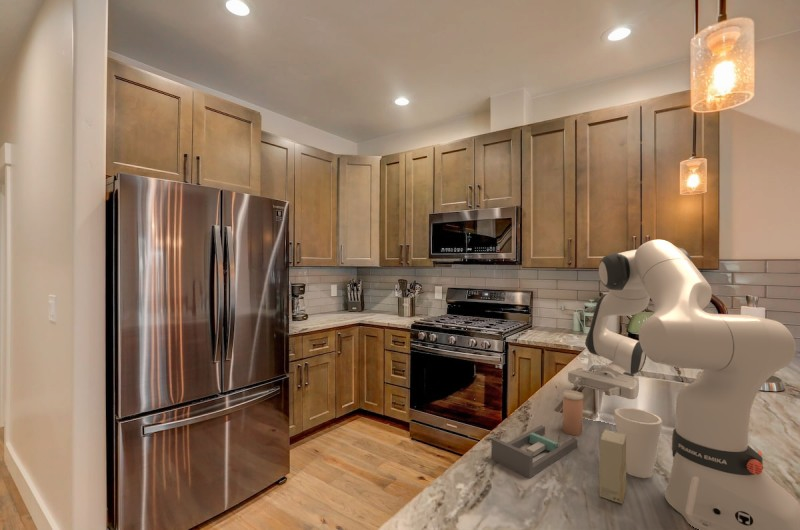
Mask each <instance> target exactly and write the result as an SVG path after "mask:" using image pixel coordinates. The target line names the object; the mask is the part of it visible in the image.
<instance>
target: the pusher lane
mask: <svg viewBox="0 0 800 530" xmlns="http://www.w3.org/2000/svg"><path fill="white" fill-rule="evenodd" d="M532 432H533V433H535V434H537V435H540V436H542V437H543V436H544V435H546V427H545V426H543V425H539V426H536V428H533V429H531V430H530V431H528V432H526V433H523V434H521V435H519V436H517V437H516V438H514V439H512V440H510V441H508V442H505V441H503V440H501V439H499V438H496V437H493V438H491V453H490V454H491V457H490V458H491V460H493V462H496V463H498V464H500V465H503V466H504V467H506V468H508V469H509V470H512V471H514V472H515V473H518V474H519V475H522V476H524V477H525V478H527V479H531V478H533V477H534V476H536V475H537V474H538V473H540V472H542V471H544V469H547V468H548V467H549V466H551V465H553V464H554V463H555V462H557V461H558V460H560V459H561V458H563V457H565V456H566V455H568V454H569V453H570V452H572V451H573V450H575V449H576V448H578V442H579V441H578V440H579V439H578V438H575V437H572V438H570V439H569V440H567V441H565V442H564V443H562V444H561V445H558V447H557V448H556V449H554V450H552V451H551V452H550V451H548V452H547V453H546V454H545V455H542V456H541V457H539V458H538V459H536V460H535V461H534V456H533V455H532V454H530V453H527V452H526V451H525V450H523V449H521V448H522V447H524V446H526V445H527V444H529V443H530V433H532Z"/></svg>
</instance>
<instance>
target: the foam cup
mask: <svg viewBox="0 0 800 530" xmlns="http://www.w3.org/2000/svg"><path fill="white" fill-rule="evenodd" d="M613 414H614V416H613V418H614V419H613V420H614V424H615V430H616V431H615V432H618V433H622V434H626V474H628V475H630V476H633V477H637V478H640V479H649V478H651V477H652V476H653V474H654V469H655V466H656V465H655V464H656V459H657V456H658V455H657V454H658V448H659V445H660V444H659V442H660V438H661V433H662V432H663V419H662V418H661V417H660V416H658V415H656V414H655V413H654V412H653V413H652V412H649V411H648V410H647V411H646V410H644V409H639V408H634V407H617V408H616V409H614V413H613Z"/></svg>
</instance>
